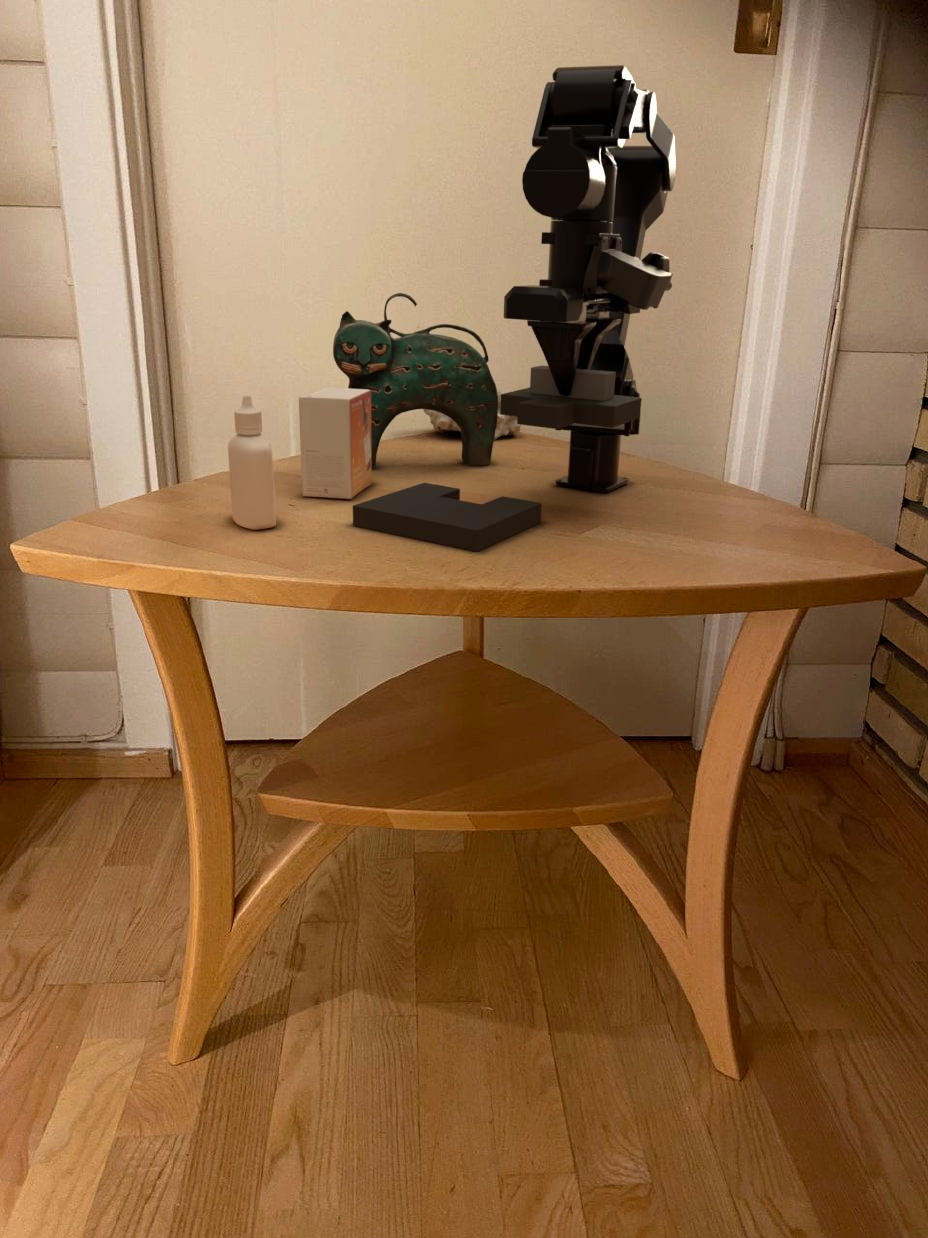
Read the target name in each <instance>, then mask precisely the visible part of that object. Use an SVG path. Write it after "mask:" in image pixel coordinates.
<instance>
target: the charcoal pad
mask: <svg viewBox="0 0 928 1238" xmlns="http://www.w3.org/2000/svg"><path fill="white" fill-rule="evenodd" d="M542 505H543V504H542V502H539V501H533V500H526V499H521V498H516V497H509V496H504V495H502V496H499V497H497V498H494V499H492V500H489V501H486V502H483V503H477V502H472V501H467V500H462V499H461V488H457V487H452V486H445V485H441V484H435V483H429V482H422V483H419V484H416V485H413V486H409V487H406V488H403V489H400V490H396V491H393V492H391V493H387V494H385V495H381V496H378V497H375V498H371V499H369V500H365V501H362V502H360V503H357V504H353V505H352V526H354V527H359V528H363V529H368V530H372V531H378V532H382V533H386V534H391V535H396V536H400V537H404V538H405V537H406V538H410V539H415V540H420V541H424V542H429V543H433V544H438V545H442V546H446V547H447V546H448V547H452V548H457V549H461V550H467V551H471V552H476V553H477V552H480V551H482V550H484V549H486V548H488V547H490V546H493V545H495V544H498V543H500V542H501V541H503V540H506V539H508V538H510V537H512V536H514V535H517V534H520V533H521V532H523V531H525V530H528V529H530V528H532V527H534V526H537V525H539V524H540V523H541V522H542V507H543V506H542Z"/></svg>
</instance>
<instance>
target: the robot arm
mask: <svg viewBox="0 0 928 1238" xmlns="http://www.w3.org/2000/svg"><path fill="white" fill-rule="evenodd" d="M551 76H552V81H547V82H546V84H545V86H544V90H543V93H542V98H541V102H540V105H539V109H538V113H537V118H536V121H535V125H534V130H533V134H532V138H531V146H532V147H533V148H536V150H535V151H534V152H533V154H532V155H531V156H530V157H529V159H528V161H526V162H527V163H526V165H525V167H524V171H523V172H522V176H521V177H522V178H521V184H522V192H523V194H524V196H525V200H526V202H527V203H528V205H529V206H530V207H531V208H532V209H533V210H534V211H535V212H536V213H538V214H540V215H541V216H543V217H547V218H550V227H549V231H547V232H546V231H542V232H541V240H540V241H541V242H540V244H541V245H549V248H548V249H549V250H548V266H547V267H548V268H547V278H544V279H539V282H538V283H539V285H532V284H530V285H514V286H513V287H511V288H510V290H509V291H508V292H506V294H505V295H504V297H503V319H506V320H507V319H508V320H519V321H526V324H527V327H530V328H531V329H532V332H533V334H534V336H535V338H536V341H537V343H538V345H539V347H540V350H541V351H542V355H543V356H544V359H545V361H546V364H547V366H549V369H550V371H551V374H552V376H553V379H554V382H555V384H556V387H557V389H558V392H559V394H560V395H566V396H568V395H570V394H571V392H572V388H573V383H574V379H575V373H576V369H587V370H598V371H609V372H616V376H615V388H614V395H620V396H630V397H639V398H641V394H640V393H639V391H638V388H637V382H636V379H634V372H633V368H632V365H631V364H632V363H631V361H630V357H629V355H628V352H627V350H626V347H625V345H626V341H627V335H628V329H629V324H630V320H631V319H630V317H631V315H633V314H641V310H642V311H643V310H644V311H647V310H649V308H653V309H656V310H657V309H658V308H659V306H660V303H661V301H662V299H663V296H664V294H665V292H666V291H667V292H668V291H670V290H671V289H672V287H673V283H672V278H673V275H674V273H672V272H670V271H671V269H670V257H668V256H665V255H663V254H661V253H659V252H657V251H656V252H655V251H654V252H653V251H652V252H651V251H650V252H649V253H648V254H646V255H645V256H644V257H643V258H642V254H643V253H642V252H643V246H644V242H645V237H646V232H647V230H648V229H649V228H650V227H651V226H652V225H653V224H654V223H655V222H656V221H657V220H658V219H659V218H660V217H661V215H663V214H664V211H665V206H666V202H667V197H668V193H669V192H672V191H673V189H674V187H675V180H676V170H677V169H676V167H677V161H676V142H675V139H676V138H675V134H674V132H673V131H672V130H671V128H670V127H669V125H668V124H667V123H666V122H665V120H664V119H663V118H662V116H661V115H660V114H659V113H658V109H657V97H656V92H654V91H652V92H651V91H649V89H639V88H637V83H636V82H635V80H634V79H633V76H632V74H631V73H630V71H629V70H628V68H627V67H626V65H624V64H617V65H614V64H613V65H591V66H589V65H588V66H586V65H585V66H562V67H561V66H559V67H556V69H555V70H554V71H553V72H552V75H551ZM633 134H645V138H646V141H647V142H648V143H649V144H650V145H625V143H626V140H631V137H632V135H633ZM641 258H642V259H641ZM641 412H642V411H641V410H640V418H638V419H635V420H633V421H630V422H627V423H624V424H622V425H619V426H616V427H613V428H609V427H601V426H592V425H584V424H576V423H574V424H571V425H568V426H565V427H562V428H559V429H554V430H555V431H558V432H559V431H568V432H569V431H570V434H569V435H570V436H569V448H568V449H569V451H568V464H567V465H568V466H567V475H564V476H562V477H559V478H557V479H555V485H558V486H565V487H569V488H575V489H583V490H587V491H596V492H600V493H608V492H610V491H613V490H615V489H617V488H620V487H622V486H624V485H626V484H628V483H629V480H630V479H629V478H628V477H623V476H619V470H620V469H619V468H620V456H621V444H622V436H624V437H631V436H635V435H639V434H640V431H641V418H642V417H641Z"/></svg>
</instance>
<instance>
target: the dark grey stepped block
mask: <svg viewBox="0 0 928 1238" xmlns="http://www.w3.org/2000/svg"><path fill="white" fill-rule="evenodd" d="M615 376H616V372H609V371H598V370H587V369H576V373H575V379H574V383H573V388H572V392H571V394H570V395H568V396H566V395H560V394H559V392H558V389H557V387H556V384H555V382H554V379H553V376H552V374H551V371H550V369H549V366H548V365H544V364H543V365H538V366H537V365H535V366H532V367H530V376H529V377H530V378H529V379H530V381H529V387H525V388H521V389H516V390H513V391H509V392H505V393H501V408H500V414H501V415H509V416H517V424H520V425H521V426H528V427H535V428H537V427H538V428H545V429H554V430H555V429H559V428H562V427H565V426H568V425H571V424H574V423H576V424H584V425H592V426H601V427H609V428H613V427H616V426H619V425H622V424H624V423H627V422H630V421H633V420H635V419H638V418H640V411H641V410H642V397H640V398H639V397H630V396H620V395H614V388H615Z"/></svg>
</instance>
